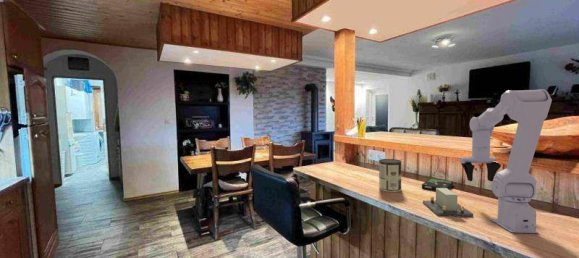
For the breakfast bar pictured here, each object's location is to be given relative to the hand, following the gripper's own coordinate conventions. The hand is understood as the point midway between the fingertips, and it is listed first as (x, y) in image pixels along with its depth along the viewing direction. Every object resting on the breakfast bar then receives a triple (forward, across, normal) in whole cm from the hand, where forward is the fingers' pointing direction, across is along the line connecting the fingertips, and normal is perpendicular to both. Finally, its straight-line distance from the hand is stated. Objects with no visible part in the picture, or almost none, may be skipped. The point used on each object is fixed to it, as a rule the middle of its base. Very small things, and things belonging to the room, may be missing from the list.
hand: (479, 180), depth 102 cm
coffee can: (+10, +30, -18) cm, 36 cm away
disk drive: (+10, +6, -22) cm, 25 cm away
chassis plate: (+9, +16, +7) cm, 20 cm away
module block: (+8, +16, +7) cm, 19 cm away
